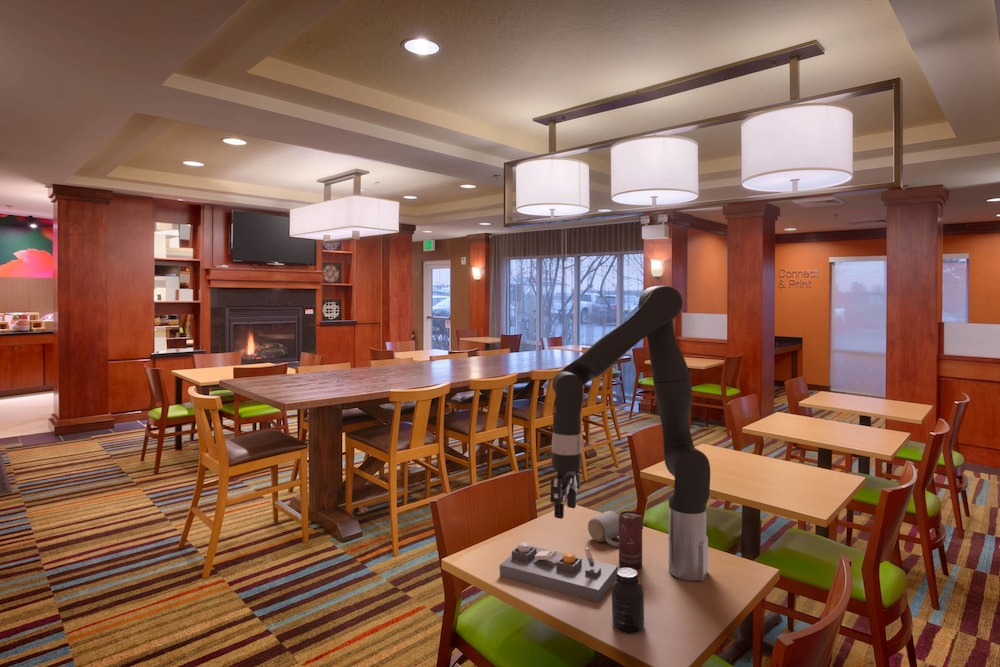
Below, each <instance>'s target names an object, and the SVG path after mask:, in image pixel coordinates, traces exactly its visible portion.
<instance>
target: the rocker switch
mask: <svg viewBox="0 0 1000 667" xmlns="http://www.w3.org/2000/svg"><path fill="white" fill-rule="evenodd" d="M556 552H557V550H551V551H540V552H539V553H537V554H536V555H535V560H544V559H552V558H553V557H555V556H556V555H557V553H556Z"/></svg>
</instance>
